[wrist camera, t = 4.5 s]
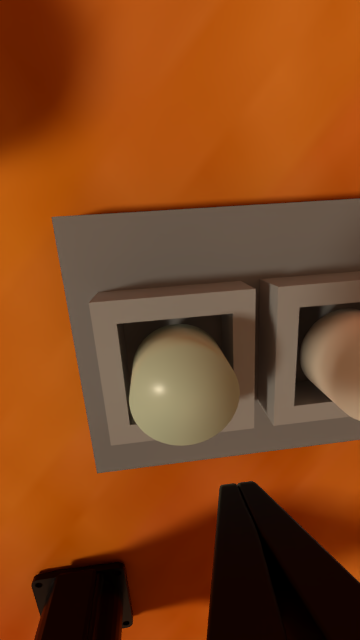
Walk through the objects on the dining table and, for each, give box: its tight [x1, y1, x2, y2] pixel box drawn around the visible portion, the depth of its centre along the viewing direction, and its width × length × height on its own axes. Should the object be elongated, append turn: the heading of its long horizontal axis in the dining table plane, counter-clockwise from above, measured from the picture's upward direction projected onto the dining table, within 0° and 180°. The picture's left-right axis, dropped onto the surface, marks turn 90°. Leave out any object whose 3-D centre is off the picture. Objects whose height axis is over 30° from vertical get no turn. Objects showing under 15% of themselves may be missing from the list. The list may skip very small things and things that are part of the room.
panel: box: [52, 198, 360, 473], centre depth 16 cm, size 14×26×4 cm, turn 94°
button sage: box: [129, 324, 240, 446], centre depth 13 cm, size 4×4×3 cm
